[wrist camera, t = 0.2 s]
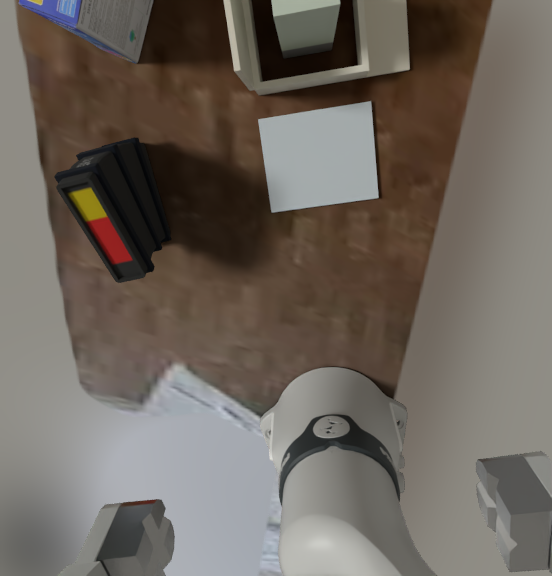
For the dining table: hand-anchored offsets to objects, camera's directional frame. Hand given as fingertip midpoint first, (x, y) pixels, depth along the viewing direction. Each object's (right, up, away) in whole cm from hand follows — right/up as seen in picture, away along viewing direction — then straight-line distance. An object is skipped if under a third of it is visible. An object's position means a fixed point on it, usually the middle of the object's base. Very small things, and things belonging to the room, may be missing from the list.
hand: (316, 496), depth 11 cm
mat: (+4, +19, +36) cm, 41 cm away
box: (+2, +32, +33) cm, 46 cm away
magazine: (-16, +15, +39) cm, 45 cm away
